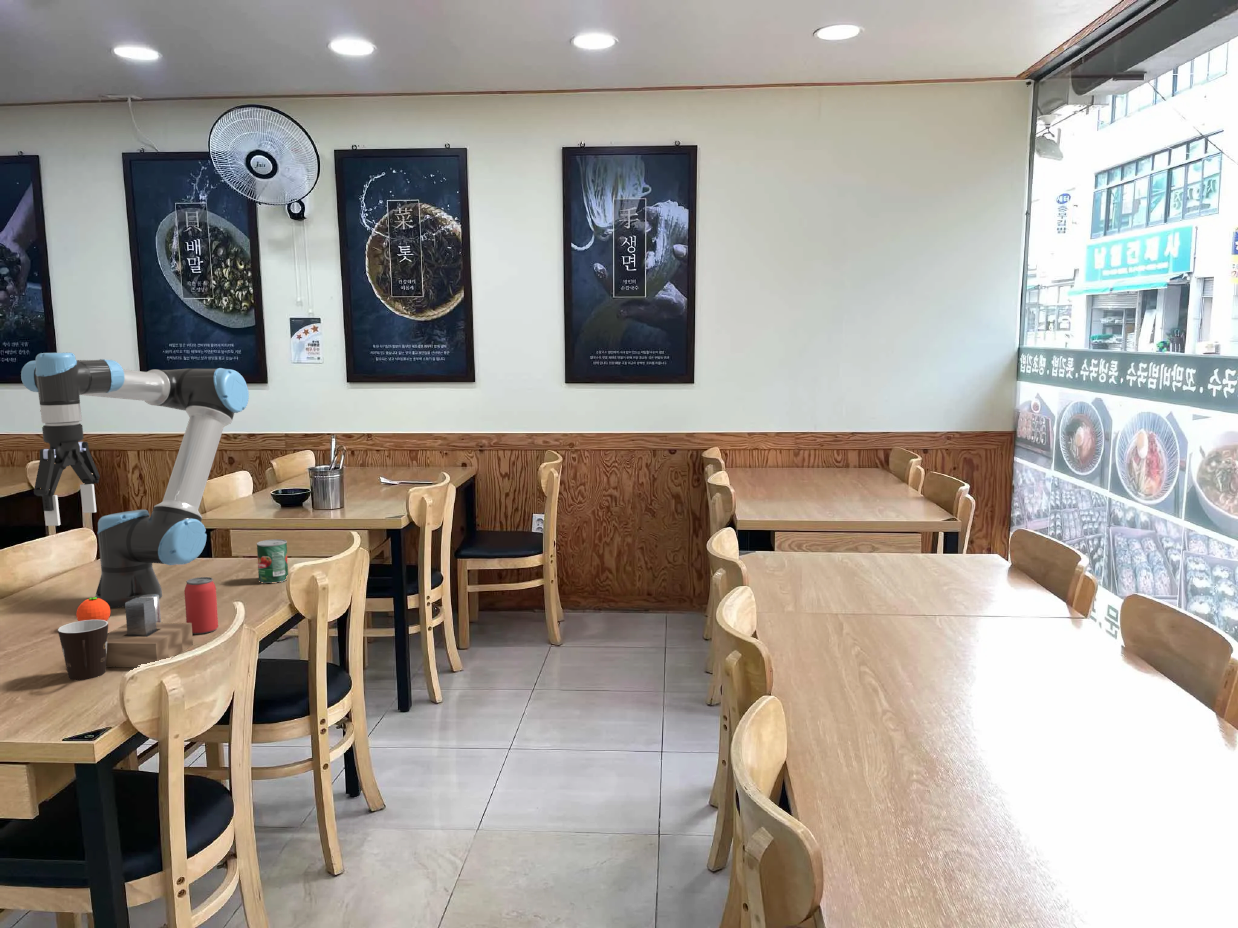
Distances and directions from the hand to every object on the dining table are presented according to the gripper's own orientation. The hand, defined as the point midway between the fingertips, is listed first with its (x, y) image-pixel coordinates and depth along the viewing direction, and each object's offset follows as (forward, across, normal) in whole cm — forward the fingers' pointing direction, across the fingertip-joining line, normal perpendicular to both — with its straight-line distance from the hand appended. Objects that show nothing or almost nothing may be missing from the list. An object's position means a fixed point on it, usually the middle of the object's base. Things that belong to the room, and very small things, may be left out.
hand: (72, 518), depth 199 cm
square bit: (+27, +13, +20) cm, 36 cm away
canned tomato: (+29, -49, +25) cm, 62 cm away
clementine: (+28, -7, -2) cm, 29 cm away
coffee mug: (+27, +26, +15) cm, 40 cm away
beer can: (+28, -4, +25) cm, 38 cm away
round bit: (+27, +3, +17) cm, 32 cm away
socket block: (+27, +13, +20) cm, 36 cm away
